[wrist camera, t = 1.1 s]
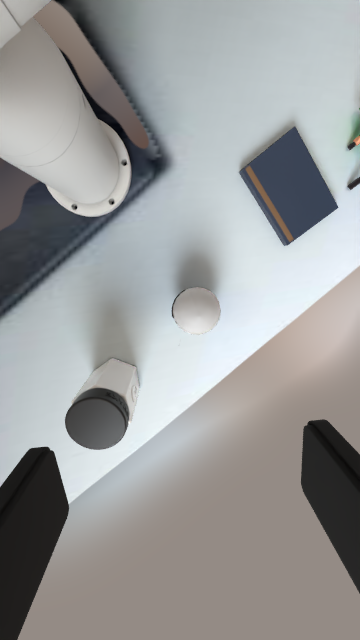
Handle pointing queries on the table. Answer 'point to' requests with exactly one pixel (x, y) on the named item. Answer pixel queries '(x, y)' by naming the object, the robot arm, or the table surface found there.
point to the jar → (104, 406)
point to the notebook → (289, 187)
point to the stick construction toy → (356, 142)
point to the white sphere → (196, 310)
